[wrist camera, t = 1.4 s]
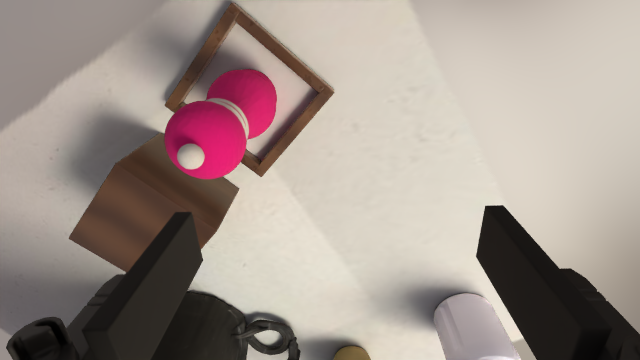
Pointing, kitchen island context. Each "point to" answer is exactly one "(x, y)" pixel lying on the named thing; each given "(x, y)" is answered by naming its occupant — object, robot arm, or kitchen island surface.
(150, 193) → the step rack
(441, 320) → the soap bottle
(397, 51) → the kitchen island surface
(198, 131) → the pepper mill
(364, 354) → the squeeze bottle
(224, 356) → the coffee maker
